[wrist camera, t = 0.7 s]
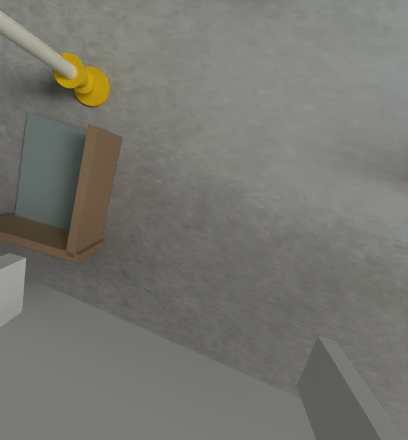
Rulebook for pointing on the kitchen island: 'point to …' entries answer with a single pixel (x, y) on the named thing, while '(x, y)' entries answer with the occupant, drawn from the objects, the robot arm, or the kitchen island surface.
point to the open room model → (62, 189)
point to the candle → (60, 64)
